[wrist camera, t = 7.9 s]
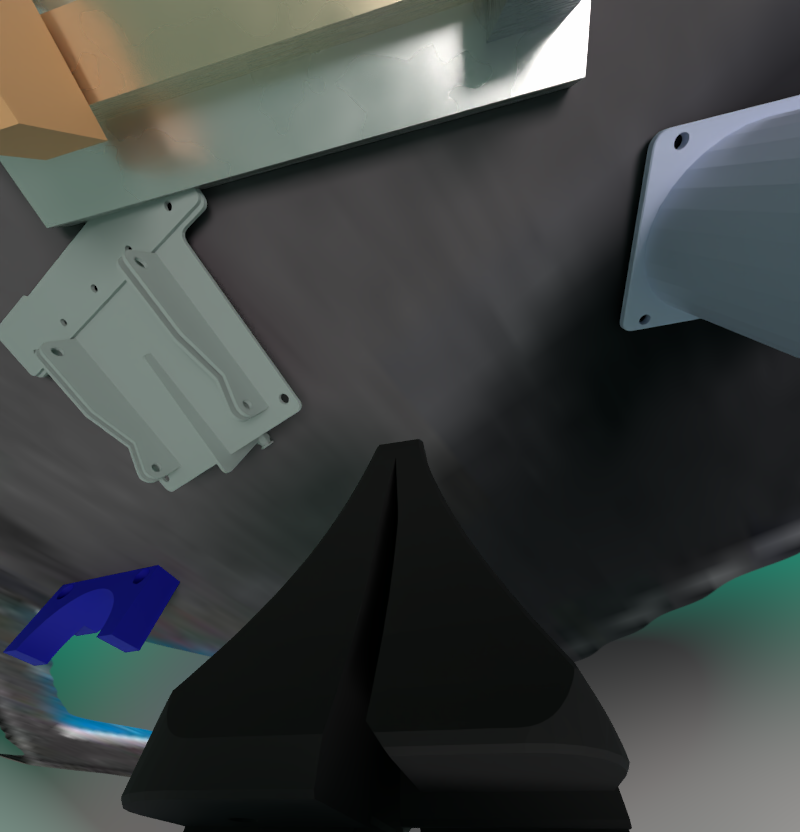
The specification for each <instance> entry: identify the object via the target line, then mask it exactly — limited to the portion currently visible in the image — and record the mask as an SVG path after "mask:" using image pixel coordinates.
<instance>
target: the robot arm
mask: <svg viewBox="0 0 800 832" xmlns="http://www.w3.org/2000/svg"><path fill="white" fill-rule="evenodd" d="M679 134H680V135H681V136H682V142H681V144H680V146H679V147H678V148H677V149H675V148H674V142H675V139H676V137H677V136H678V135H679ZM643 315H646V317H645V319H644V320H643V321H642V322H639V320H640V318H641V317H642V316H643ZM695 319H704V320H706V321H709V322H711V323H714V324H716V325H719V326H721V327H723V328H726V329H728V330H731V331H733V332H736V333H738V334H741V335H743V336H746V337H748V338H750V339H753V340H755V341H758V342H760V343H763V344H765V345H768V346H770V347H773V348H775V349H778V350H780V351H782V352H785V353H787V354H790V355H792V356H795V357H797V358H800V95H798V96H794V97H790V98H786V99H782V100H778V101H774V102H770V103H766V104H762V105H758V106H754V107H751V108H747V109H743V110H739V111H735V112H731V113H727V114H723V115H719V116H715V117H711V118H707V119H703V120H699V121H695V122H691V123H687V124H683V125H679V126H675V127H671V128H668V129H664V130H662V131H660V132H658V133H657V134H656V135H655V136H654V137H653V139H652V140H651V142H650V144H649V147H648V151H647V157H646V164H645V170H644V176H643V182H642V188H641V194H640V200H639V206H638V213H637V219H636V225H635V231H634V237H633V243H632V249H631V255H630V262H629V268H628V274H627V280H626V286H625V292H624V298H623V304H622V311H621V317H620V326H621V327H622V328H623V329H625V330H627V331H634V330H640V329H646V328H651V327H657V326H662V325H668V324H673V323H679V322H684V321H690V320H695ZM628 769H629V760H628V757H627V754H626V752H625V750H624V747H623V745H622V743H621V741H620V739H619V737H618V735H617V733H616V731H615V729H614V727H613V725H612V723H611V721H610V719H609V717H608V716H607V714H606V712H605V711H604V709H603V707H602V706H601V704H600V702H599V701H598V699H597V697H596V696H595V694H594V692H593V691H592V689H591V688H590V686H589V685H588V683H587V682H586V680H585V678H584V677H583V675H582V674H581V672H580V671H579V669H578V667H577V666H576V664H575V663H574V662H573V661H572V660H571V659H570V658H569V657H568V655H567V654H566V653H565V652H564V651H563V650H562V649H561V648H560V647H559V646H558V645H557V644H556V643H555V642H554V641H553V640H552V639H551V638H550V636H549V635H548V634H547V633H546V632H545V631H544V630H543V629H542V628H541V627H540V626H539V625H538V623H537V622H536V621H535V620H534V619H533V618H532V617H531V616H530V614H529V613H528V612H527V611H526V610H525V609H524V608H523V606H522V605H521V604H520V603H519V602H518V601H517V600H516V598H515V597H514V596H513V595H512V594H511V593H510V591H509V590H508V589H507V588H506V586H505V585H504V584H503V583H502V581H501V580H500V579H499V578H498V576H497V575H496V574H495V573H494V571H493V570H492V569H491V568H490V566H489V565H488V564H487V563H486V561H485V560H484V559H483V557H482V556H481V555H480V553H479V552H478V551H477V549H476V548H475V546H474V545H473V544H472V542H471V541H470V539H469V538H468V536H467V535H466V534H465V532H464V531H463V529H462V528H461V526H460V524H459V523H458V521H457V520H456V518H455V517H454V515H453V513H452V512H451V510H450V508H449V506H448V505H447V503H446V501H445V500H444V498H443V496H442V494H441V492H440V490H439V488H438V486H437V484H436V482H435V480H434V478H433V476H432V473H431V471H430V469H429V466H428V463H427V458H426V454H425V449H424V445H423V441H421V440H419V439H416V440H410V441H403V442H396V443H390V444H383V445H379V446H378V448H377V449H376V451H375V453H374V455H373V457H372V459H371V461H370V463H369V465H368V467H367V469H366V471H365V473H364V474H363V476H362V478H361V480H360V482H359V483H358V485H357V487H356V488H355V490H354V492H353V494H352V495H351V497H350V499H349V500H348V502H347V503H346V505H345V507H344V508H343V510H342V511H341V513H340V514H339V516H338V517H337V519H336V520H335V522H334V523H333V525H332V526H331V528H330V529H329V530H328V532H327V533H326V535H325V536H324V537H323V539H322V540H321V541H320V543H319V544H318V545H317V547H316V548H315V549H314V550H313V552H312V553H311V554H310V555H309V557H308V558H307V559H306V560H305V562H304V563H303V564H302V565H301V566H300V567H299V569H298V570H297V571H296V572H295V573H294V574H293V576H292V577H291V578H290V579H289V580H288V581H287V583H286V584H285V585H284V586H283V587H282V588H281V589H280V590H279V591H278V593H277V594H276V595H275V596H274V597H273V598H272V599H271V600H270V601H269V602H268V603H267V604H266V605H265V606H264V607H263V608H262V609H261V610H260V611H259V612H258V613H257V614H256V615H255V616H254V617H253V618H252V619H251V620H250V621H249V622H248V623H247V624H246V625H245V626H244V627H243V628H242V629H241V630H240V631H239V632H238V633H237V634H236V635H235V636H234V637H233V638H232V639H231V640H230V641H228V642H227V643H226V644H225V645H224V646H223V647H222V648H221V649H220V650H219V651H217V652H216V653H215V654H214V655H213V656H212V657H211V658H210V659H208V660H207V661H206V662H205V663H204V664H203V665H202V666H201V667H200V668H198V669H197V670H196V671H195V672H194V673H193V674H192V675H191V676H190V677H188V678H187V679H186V680H185V681H184V682H183V683H182V684H180V685H179V686H178V687H177V688H176V689H174V690H173V692H172V694H171V695H170V697H169V699H168V701H167V703H166V705H165V707H164V709H163V711H162V713H161V715H160V717H159V719H158V721H157V723H156V725H155V727H154V730H153V732H152V734H151V736H150V738H149V740H148V742H147V744H146V746H145V748H144V750H143V753H142V755H141V757H140V759H139V761H138V763H137V765H136V767H135V769H134V771H133V773H132V776H131V778H130V780H129V782H128V784H127V786H126V788H125V790H124V792H123V794H122V797H121V801H122V805H123V808H124V809H125V810H127V811H129V812H132V813H136V814H138V815H142V816H146V817H150V818H154V819H158V820H163V821H166V822H171V823H175V824H179V825H183V826H185V829H184V831H183V832H409V831H410V829H411V828H420V830H421V832H629V829H631V828H632V827H631V823H630V819H629V816H628V813H627V810H626V808H625V805H624V802H623V799H622V796H621V794H620V791H619V788H618V786H619V784H620V783H621V782H622V781H623V779H624V778H625V777H626V774H627V772H628Z"/></svg>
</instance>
